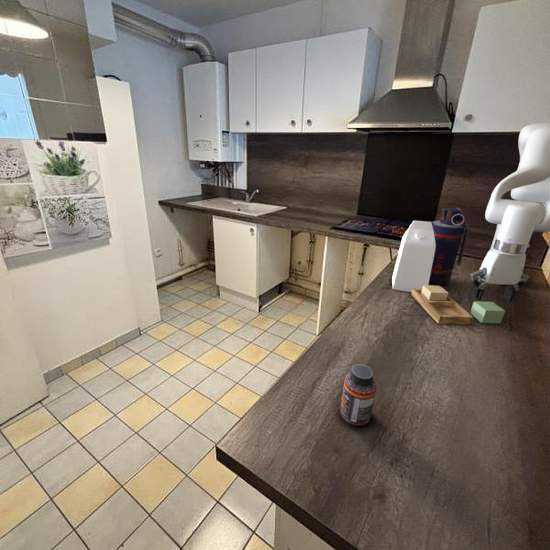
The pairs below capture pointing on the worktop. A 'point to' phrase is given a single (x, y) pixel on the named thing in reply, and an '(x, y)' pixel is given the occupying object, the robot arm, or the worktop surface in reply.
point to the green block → (487, 312)
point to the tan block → (434, 293)
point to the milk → (414, 257)
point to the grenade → (447, 244)
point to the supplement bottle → (358, 395)
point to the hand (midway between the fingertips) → (491, 299)
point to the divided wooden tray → (443, 310)
